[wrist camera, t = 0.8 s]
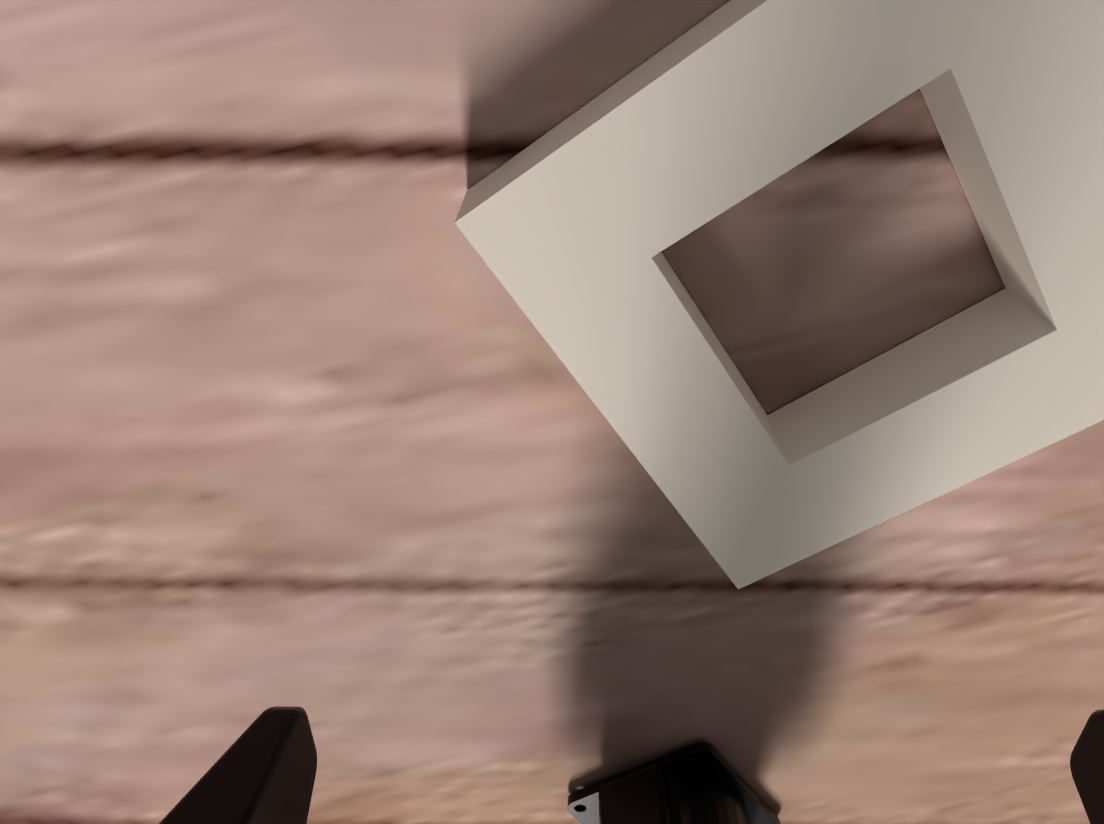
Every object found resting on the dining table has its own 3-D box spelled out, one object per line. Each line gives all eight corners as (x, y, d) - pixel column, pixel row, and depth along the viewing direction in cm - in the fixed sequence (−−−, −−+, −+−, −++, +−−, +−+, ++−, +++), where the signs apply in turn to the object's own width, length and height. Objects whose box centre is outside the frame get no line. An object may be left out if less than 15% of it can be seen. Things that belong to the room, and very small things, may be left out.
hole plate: (1162, 316, 21) (1231, 360, 19) (723, 532, 25) (737, 589, 23) (995, -191, 15) (1064, -212, 13) (466, 190, 19) (454, 222, 17)
